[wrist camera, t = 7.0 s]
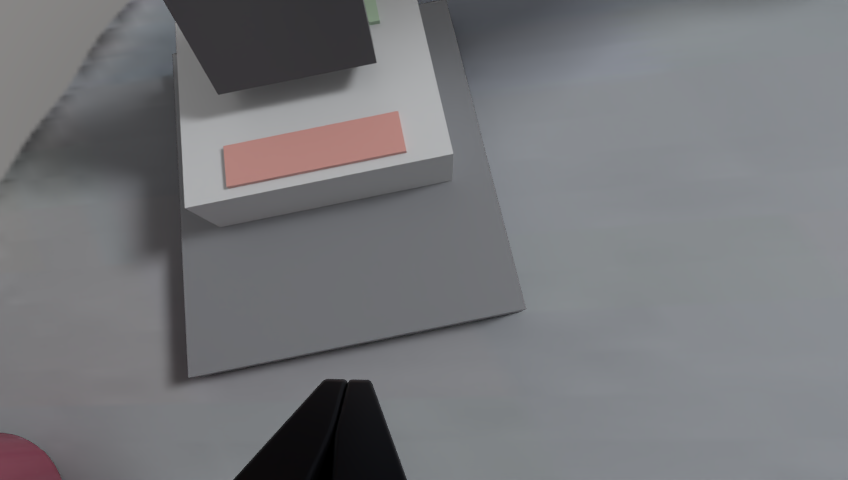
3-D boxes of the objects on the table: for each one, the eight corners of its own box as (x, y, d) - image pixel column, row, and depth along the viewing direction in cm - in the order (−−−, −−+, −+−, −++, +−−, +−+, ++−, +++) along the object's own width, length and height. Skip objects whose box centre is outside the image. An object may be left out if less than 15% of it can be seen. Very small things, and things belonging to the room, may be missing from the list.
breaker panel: (520, 311, 21) (541, 301, 16) (205, 375, 21) (139, 383, 16) (446, 18, 26) (446, -53, 21) (187, 70, 26) (132, 10, 21)
